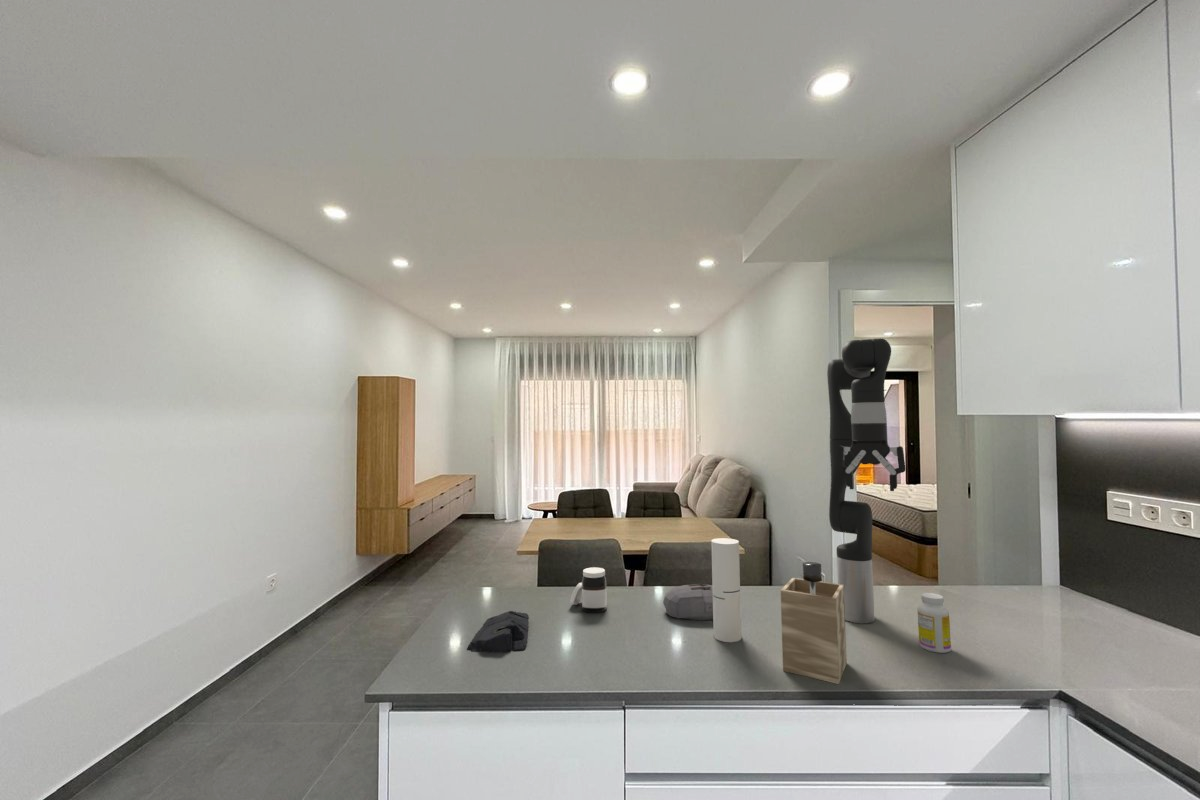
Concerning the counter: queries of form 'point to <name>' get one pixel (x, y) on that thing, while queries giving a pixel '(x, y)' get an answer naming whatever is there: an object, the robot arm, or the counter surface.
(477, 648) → the dark slate chunk
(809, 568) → the plunger
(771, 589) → the counter surface
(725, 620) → the cylindrical container
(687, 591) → the grey rounded bag
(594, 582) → the spread jar
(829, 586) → the wooden utensil holder
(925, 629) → the supplement bottle
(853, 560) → the robot arm
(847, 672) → the counter surface
